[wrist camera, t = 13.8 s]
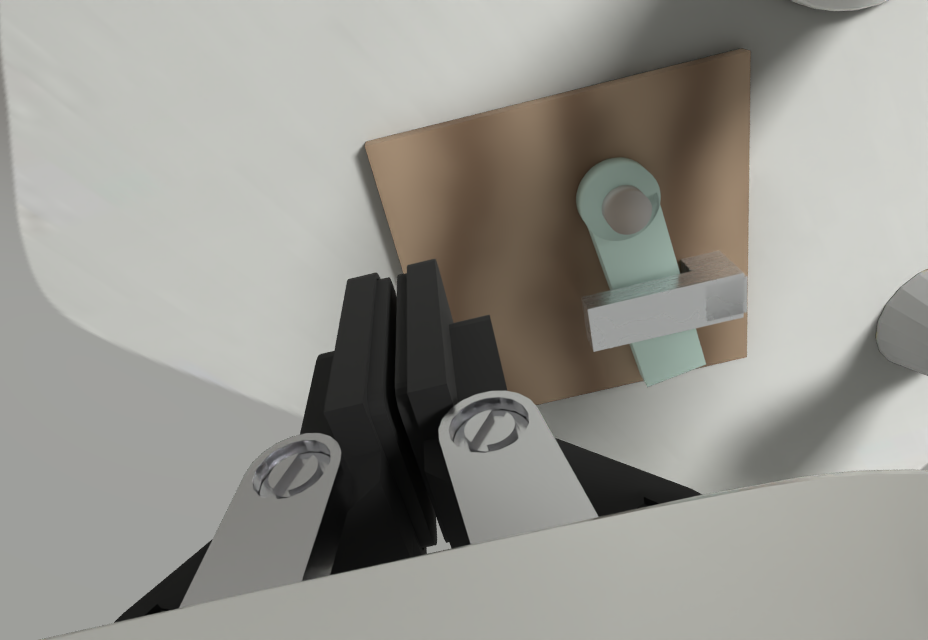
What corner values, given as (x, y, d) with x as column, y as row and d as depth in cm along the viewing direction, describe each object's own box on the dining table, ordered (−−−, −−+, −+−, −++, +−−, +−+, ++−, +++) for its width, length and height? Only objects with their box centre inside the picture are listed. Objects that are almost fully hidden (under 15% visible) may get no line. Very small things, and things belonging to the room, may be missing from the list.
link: (565, 177, 35) (571, 185, 34) (639, 144, 35) (649, 151, 33) (637, 375, 43) (644, 388, 41) (699, 350, 42) (709, 363, 41)
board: (742, 48, 34) (783, 59, 30) (740, 349, 44) (770, 385, 40) (365, 141, 35) (361, 163, 31) (448, 415, 45) (452, 457, 41)
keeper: (719, 245, 39) (747, 272, 35) (719, 287, 40) (746, 316, 37) (572, 280, 39) (587, 309, 36) (578, 320, 40) (593, 351, 37)
